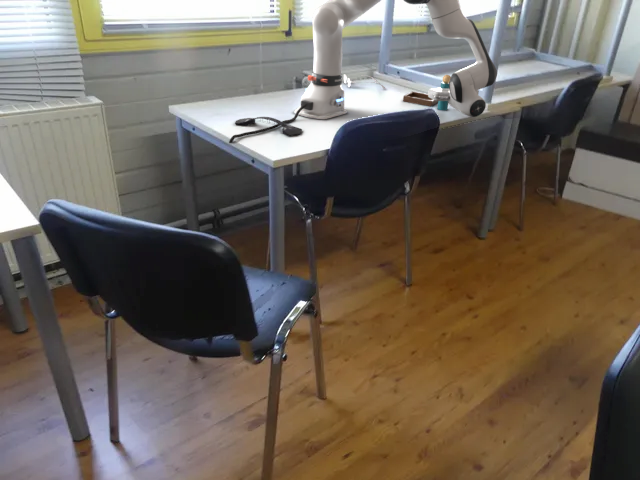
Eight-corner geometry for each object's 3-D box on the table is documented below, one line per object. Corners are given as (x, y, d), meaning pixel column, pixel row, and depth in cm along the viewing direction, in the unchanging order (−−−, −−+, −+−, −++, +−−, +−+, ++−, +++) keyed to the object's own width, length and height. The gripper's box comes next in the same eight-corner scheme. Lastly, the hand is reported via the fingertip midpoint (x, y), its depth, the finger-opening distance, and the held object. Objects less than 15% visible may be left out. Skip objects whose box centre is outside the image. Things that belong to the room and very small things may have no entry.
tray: (431, 106, 240) (432, 101, 239) (402, 101, 244) (403, 95, 243) (439, 101, 249) (439, 96, 248) (411, 96, 253) (412, 91, 252)
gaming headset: (293, 137, 186) (293, 127, 184) (231, 124, 193) (230, 114, 192) (305, 131, 193) (306, 122, 192) (245, 118, 201) (245, 109, 199)
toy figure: (445, 111, 235) (451, 76, 228) (435, 109, 237) (441, 74, 229) (448, 109, 239) (454, 74, 231) (438, 107, 240) (444, 73, 233)
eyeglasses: (342, 81, 269) (343, 73, 267) (377, 82, 273) (378, 74, 271) (349, 89, 256) (350, 80, 254) (386, 90, 261) (387, 81, 259)
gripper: (435, 105, 222) (421, 97, 233) (479, 105, 228) (463, 97, 239) (437, 89, 218) (423, 81, 229) (482, 90, 225) (466, 82, 236)
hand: (444, 89), depth 234 cm, fingers closed on toy figure, 4 cm apart
